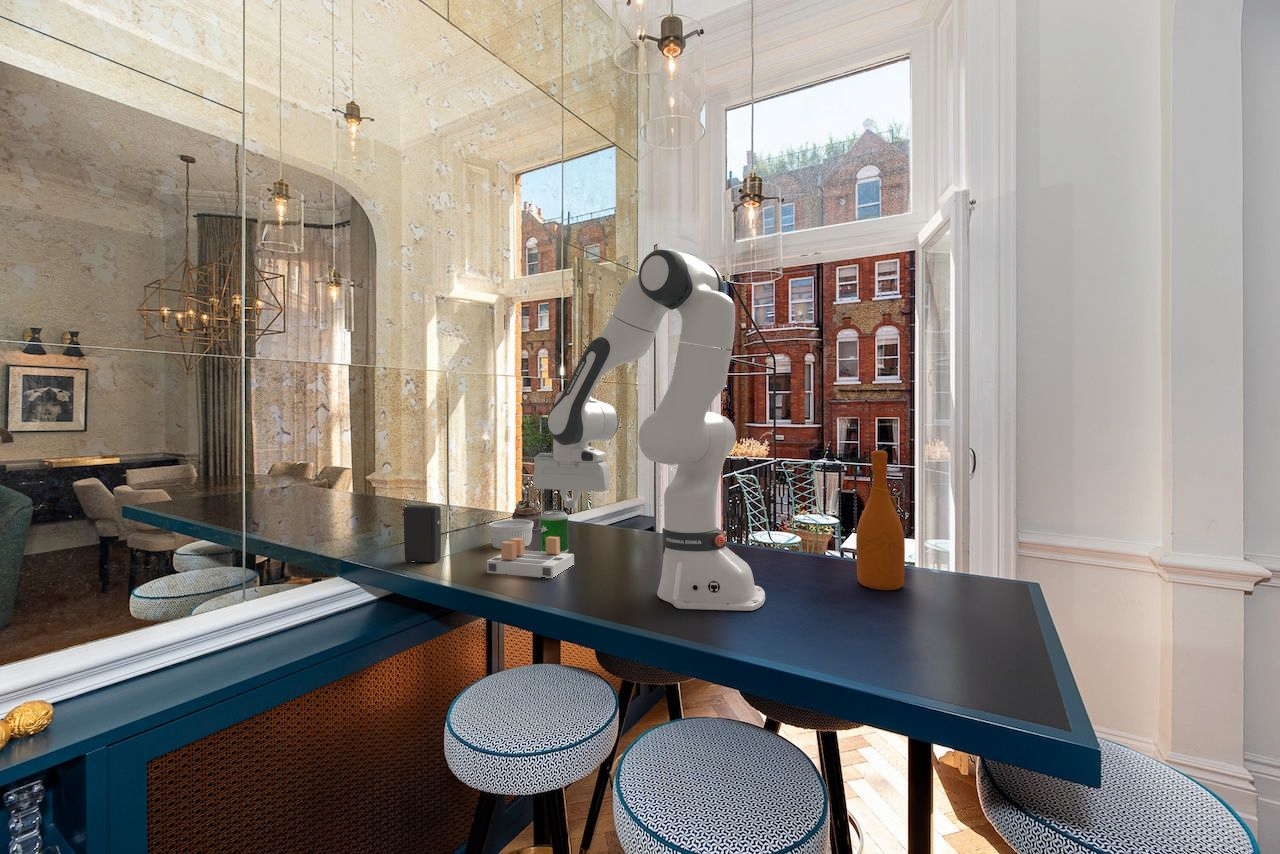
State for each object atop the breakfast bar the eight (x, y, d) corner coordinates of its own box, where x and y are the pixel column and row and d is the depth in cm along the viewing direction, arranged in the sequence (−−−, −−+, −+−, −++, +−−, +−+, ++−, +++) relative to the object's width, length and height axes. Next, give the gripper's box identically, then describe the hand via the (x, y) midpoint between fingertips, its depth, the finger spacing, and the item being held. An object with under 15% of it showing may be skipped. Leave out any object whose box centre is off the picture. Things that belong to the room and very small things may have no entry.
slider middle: (524, 554, 139) (524, 538, 138) (520, 555, 137) (520, 540, 137) (514, 553, 139) (514, 537, 139) (510, 555, 138) (509, 539, 137)
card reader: (443, 560, 147) (442, 504, 147) (435, 564, 143) (434, 507, 143) (411, 559, 148) (411, 504, 148) (403, 563, 144) (402, 506, 144)
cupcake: (544, 530, 186) (544, 501, 186) (517, 533, 181) (517, 503, 181) (534, 525, 195) (534, 498, 194) (508, 529, 189) (507, 500, 189)
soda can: (571, 551, 155) (570, 509, 155) (564, 558, 147) (564, 514, 147) (545, 551, 156) (544, 509, 155) (537, 558, 148) (537, 514, 148)
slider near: (516, 557, 135) (516, 541, 135) (512, 559, 133) (511, 543, 133) (505, 557, 136) (505, 541, 136) (501, 559, 134) (501, 542, 134)
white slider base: (574, 565, 140) (574, 553, 140) (552, 578, 128) (552, 565, 128) (512, 560, 145) (512, 549, 145) (486, 573, 134) (486, 560, 134)
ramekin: (490, 542, 169) (490, 519, 169) (534, 540, 171) (533, 518, 171) (486, 552, 156) (486, 528, 156) (533, 549, 158) (533, 525, 158)
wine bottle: (908, 593, 114) (907, 451, 114) (857, 589, 117) (856, 451, 117) (901, 580, 123) (900, 449, 123) (855, 577, 127) (854, 449, 126)
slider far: (559, 552, 140) (559, 537, 140) (556, 554, 138) (556, 538, 138) (549, 551, 141) (549, 536, 141) (545, 553, 139) (545, 537, 139)
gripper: (528, 453, 138) (528, 507, 138) (603, 455, 131) (603, 512, 132) (540, 451, 144) (540, 503, 144) (612, 453, 137) (612, 507, 138)
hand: (570, 507), depth 138 cm, fingers closed
